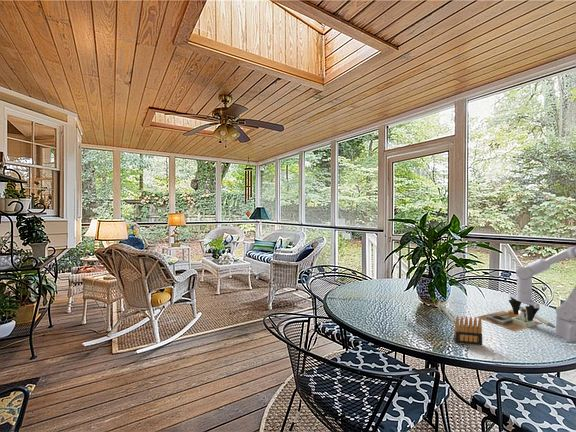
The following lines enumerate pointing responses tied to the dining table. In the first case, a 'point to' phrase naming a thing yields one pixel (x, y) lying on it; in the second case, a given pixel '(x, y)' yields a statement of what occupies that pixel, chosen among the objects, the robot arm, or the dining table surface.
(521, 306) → the adjustable wrench
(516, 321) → the tray
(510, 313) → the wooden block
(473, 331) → the ammunition clip
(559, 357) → the dining table surface
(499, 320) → the holder
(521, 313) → the peg
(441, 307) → the caliper
